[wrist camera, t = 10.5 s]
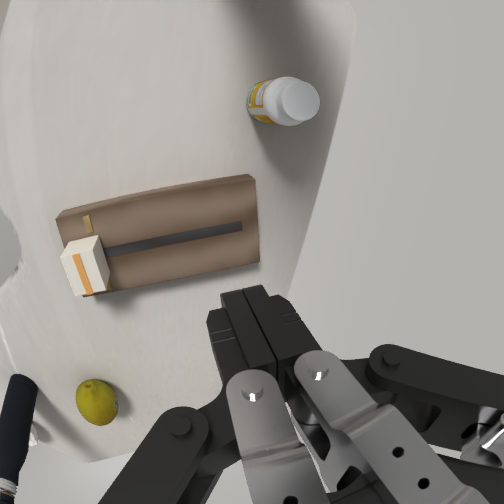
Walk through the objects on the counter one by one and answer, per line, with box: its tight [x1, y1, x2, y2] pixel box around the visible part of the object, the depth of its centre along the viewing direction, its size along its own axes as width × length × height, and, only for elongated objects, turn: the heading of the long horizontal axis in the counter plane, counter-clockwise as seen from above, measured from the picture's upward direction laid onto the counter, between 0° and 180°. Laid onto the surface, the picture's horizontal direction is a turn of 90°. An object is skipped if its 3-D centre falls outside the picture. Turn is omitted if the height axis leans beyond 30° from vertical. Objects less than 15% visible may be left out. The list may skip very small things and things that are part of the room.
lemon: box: [76, 379, 118, 426], centre depth 41 cm, size 11×8×8 cm
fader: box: [60, 235, 110, 296], centre depth 30 cm, size 5×4×4 cm
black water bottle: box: [0, 374, 38, 504], centre depth 27 cm, size 6×6×30 cm
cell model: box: [29, 424, 38, 446], centre depth 41 cm, size 10×12×7 cm
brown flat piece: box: [56, 174, 260, 297], centre depth 35 cm, size 11×24×3 cm, turn 94°
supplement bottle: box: [246, 77, 320, 126], centre depth 29 cm, size 5×5×10 cm
